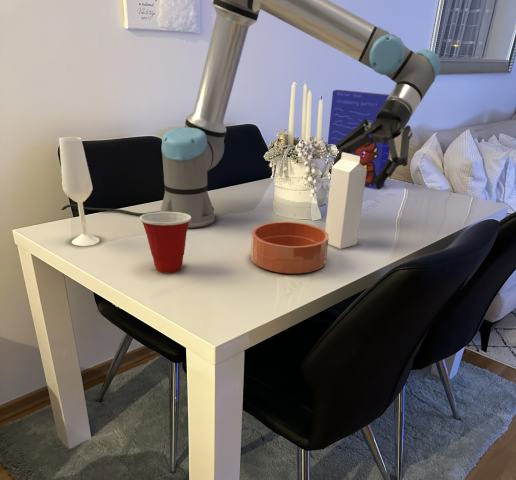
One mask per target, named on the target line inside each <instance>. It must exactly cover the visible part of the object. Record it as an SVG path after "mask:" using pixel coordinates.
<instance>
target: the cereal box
mask: <svg viewBox="0 0 516 480" xmlns="http://www.w3.org/2000/svg"><path fill="white" fill-rule="evenodd" d="M389 95H390V94H387V93H376V92H366V91H365V92H364V91H357V90H356V91H355V90H346V89H345V90H344V89H335V90H332V96H331V104H330V105H331V106H330V117H329V126H328V137H327V145H328V144H334V145H336V144H337V143H338V142H339V141H340V140H342V139H343V138H344V137H345V136H347V135H348V134H349V133H350V132H351V131H353V130H354V129H355V128H356V127H358V126H359V125H360V123H361V122H362V121H363V120H364V119H367V121H368V122H370V123H373V122H374V121H375V120H376V118H377V115H378V112H379V111H380V109H381V108H382V106H383V104H384V103H385V102H386V99H387V98H388V96H389ZM369 137H370V138H371V137H372V136H371V134H369ZM346 150H347V149H346ZM350 154H352V155H356V156H360V164H361V165H362V166H364V167H365V168H366V169H367V172H366V179H365V186H364V188H369V189H375V190H378V189H377V187H376V185H375V183H374V181H375V179H376V178H377V176H378V175H379V173H380V171H381V170H382V168H383V167H384V165H385V163H386V162H387V160H388V159H389V156H390V148H389V144H388V143H386V144H383V143H381V142H378V143H377V142H375V141H374V142H372V143H370V144H369V143H367V144H366V145H364V146H362V147H360V148H359V149H357V150H355V151H353V152H352V153H350ZM334 159H335V158H334ZM384 186H385V183H384V184H383V185H382V187H384Z"/></svg>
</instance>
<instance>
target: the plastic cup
mask: <svg viewBox="0 0 516 480" xmlns="http://www.w3.org/2000/svg"><path fill="white" fill-rule="evenodd" d="M152 212H153V213H148V212H147V213H148V214H143V215H142V216H139V220H140V222H141V223H142V225H143V229H144V232H145V234H146V238H147V242H148V245H149V249H150V253H151V254H150V255H151V256H152V259H153V263H154V264H153V265H154V268H155V270H156V271H157V272H159V273H163V274H173V273H177V272H179V271H181V270H182V269H183V268H182V267H183V263H184V255H185V249H186V240H187V233H188V229H189V228H188V224H189V221H190V220H191V216H190V215H188V214H185V213H179V212H155V211H152Z"/></svg>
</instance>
